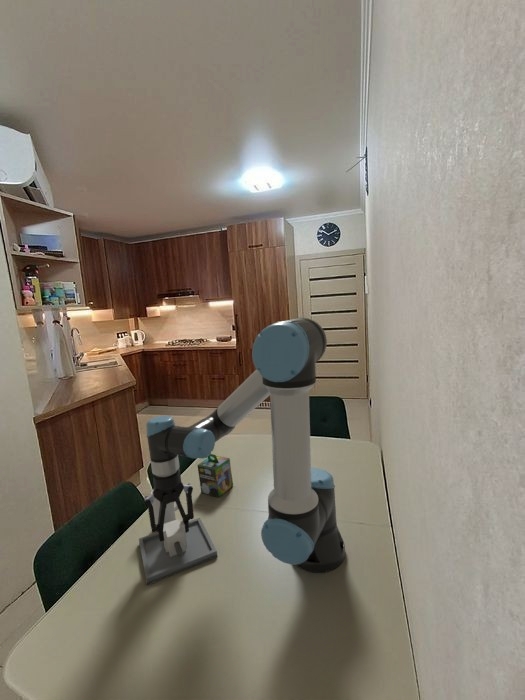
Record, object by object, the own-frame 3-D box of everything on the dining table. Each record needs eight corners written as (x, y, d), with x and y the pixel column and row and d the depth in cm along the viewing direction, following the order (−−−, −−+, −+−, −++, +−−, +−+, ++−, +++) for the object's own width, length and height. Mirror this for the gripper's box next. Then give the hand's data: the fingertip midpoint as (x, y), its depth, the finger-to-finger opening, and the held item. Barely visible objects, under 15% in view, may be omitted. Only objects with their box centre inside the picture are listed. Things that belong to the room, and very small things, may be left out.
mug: (164, 534, 109) (159, 498, 107) (151, 527, 113) (146, 493, 111) (188, 517, 117) (184, 483, 115) (175, 511, 121) (171, 479, 119)
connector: (190, 561, 95) (187, 541, 94) (173, 568, 93) (170, 547, 92) (179, 531, 108) (176, 513, 107) (164, 536, 106) (161, 518, 106)
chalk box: (233, 486, 134) (229, 449, 132) (218, 498, 127) (214, 460, 125) (215, 481, 139) (211, 446, 137) (200, 492, 132) (195, 455, 130)
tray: (217, 556, 97) (216, 550, 97) (147, 585, 89) (146, 578, 89) (200, 522, 113) (199, 517, 113) (139, 544, 105) (138, 538, 105)
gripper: (193, 457, 105) (201, 528, 108) (132, 474, 98) (142, 549, 101) (200, 467, 98) (208, 542, 101) (134, 486, 91) (146, 566, 94)
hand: (175, 545), depth 101 cm, fingers closed on connector, 5 cm apart
